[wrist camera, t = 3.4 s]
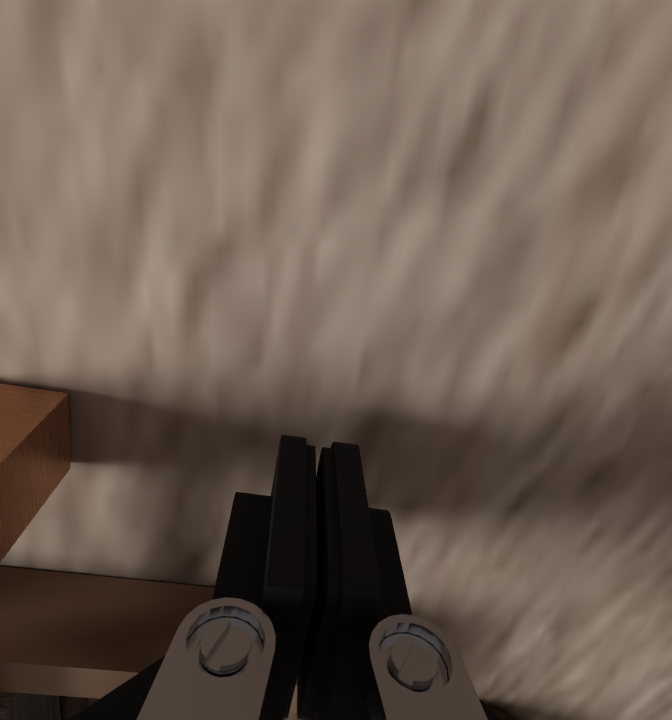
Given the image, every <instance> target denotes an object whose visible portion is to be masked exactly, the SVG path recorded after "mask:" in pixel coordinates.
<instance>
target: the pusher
mask: <svg viewBox="0 0 672 720" xmlns="http://www.w3.org/2000/svg"><path fill="white" fill-rule="evenodd" d="M69 469H70V426H69V393H64V392H57V391H49V390H42V389H35V388H28V387H21V386H13V385H6V384H0V562H1V561H2V559H3V558H4V557H5V555H6V554H7V553H8V551H9V550H10V549H11V547H12V546H13V545H14V543H15V542H16V541H17V539H18V538H19V537H20V535H21V534H22V533H23V531H24V530H25V529H26V527H27V526H28V524H29V523H30V522H31V520H32V519H33V518H34V516H35V515H36V514H37V512H38V511H39V510H40V508H41V507H42V506H43V504H44V503H45V502H46V500H47V499H48V498H49V496H50V495H51V494H52V492H53V491H54V490H55V488H56V487H57V486H58V484H59V483H60V482H61V480H62V479H63V478H64V476H65V475H66V473H67V472H68V471H69ZM0 720H61V719H60V696H56V695H43V694H29V693H16V692H2V691H0Z"/></svg>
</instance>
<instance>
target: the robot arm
mask: <svg viewBox="0 0 672 720" xmlns="http://www.w3.org/2000/svg"><path fill="white" fill-rule="evenodd" d="M296 681H297V719H302V720H502V719H501V718H500V717H499V716H498V715H497V714H496V713H494V712H493V711H492V710H491V709H490V708H489V707H487V706H486V705H485V704H484V703H483V702H482V701H481V700H479V698H478V696H477V694H476V691H475V689H474V687H473V685H472V682H471V680H470V678H469V675H468V673H467V671H466V668H465V666H464V664H463V662H462V659H461V657H460V655H459V653H458V651H457V649H456V648H455V646H454V644H453V642H452V641H451V639H450V638H449V637H448V636H447V635H446V634H445V633H444V632H443V631H442V630H441V629H440V628H438V627H437V626H435V625H434V624H432V623H431V622H429V621H428V620H425V619H422V618H420V617H417V616H414V615H412V612H411V607H410V602H409V598H408V593H407V588H406V584H405V579H404V574H403V570H402V565H401V560H400V556H399V551H398V546H397V542H396V537H395V532H394V528H393V523H392V518H391V515H390V512H389V511H388V510H382V509H373V508H368V501H367V495H366V489H365V482H364V476H363V470H362V463H361V457H360V451H359V446H358V445H354V444H347V443H339V442H333V443H332V445H331V448H326V447H323V448H322V450H321V455H320V459H319V464H318V469H317V474H316V455H315V446H311V445H306V438H302V437H295V436H287V435H281V439H280V444H279V450H278V456H277V462H276V468H275V474H274V480H273V486H272V492H271V496H265V495H256V494H248V493H240V492H236V493H235V497H234V502H233V506H232V511H231V515H230V520H229V525H228V529H227V534H226V539H225V543H224V548H223V552H222V557H221V562H220V566H219V571H218V576H217V580H216V585H215V589H214V594H213V599H212V600H210V601H208V602H206V603H203V604H201V605H199V606H197V607H196V608H195V609H194V610H192V611H191V612H190V613H189V614H188V615H186V617H185V618H184V620H183V621H182V623H181V624H180V626H179V627H178V629H177V631H176V634H175V636H174V638H173V640H172V642H171V645H170V647H169V649H168V651H167V654H166V655H165V656H164V657H162V658H161V659H159V660H158V661H156V662H155V663H153V664H152V665H150V666H149V667H147V668H146V669H144V670H143V671H141V672H140V673H138V674H137V675H135V676H134V677H132V678H131V679H129V680H128V681H126V682H125V683H123V684H122V685H120V686H118V687H117V688H115V689H114V690H112V691H111V692H109V693H108V694H106V695H105V696H103V697H102V698H100V699H99V700H97V701H96V702H94V703H93V704H91V705H90V706H88V707H87V708H85V709H84V710H82V711H81V712H79V713H78V714H76V715H75V716H73V717H72V718H70V719H69V720H283V718H288V716H289V712H290V707H291V703H292V699H293V694H294V690H295V686H296Z"/></svg>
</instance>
